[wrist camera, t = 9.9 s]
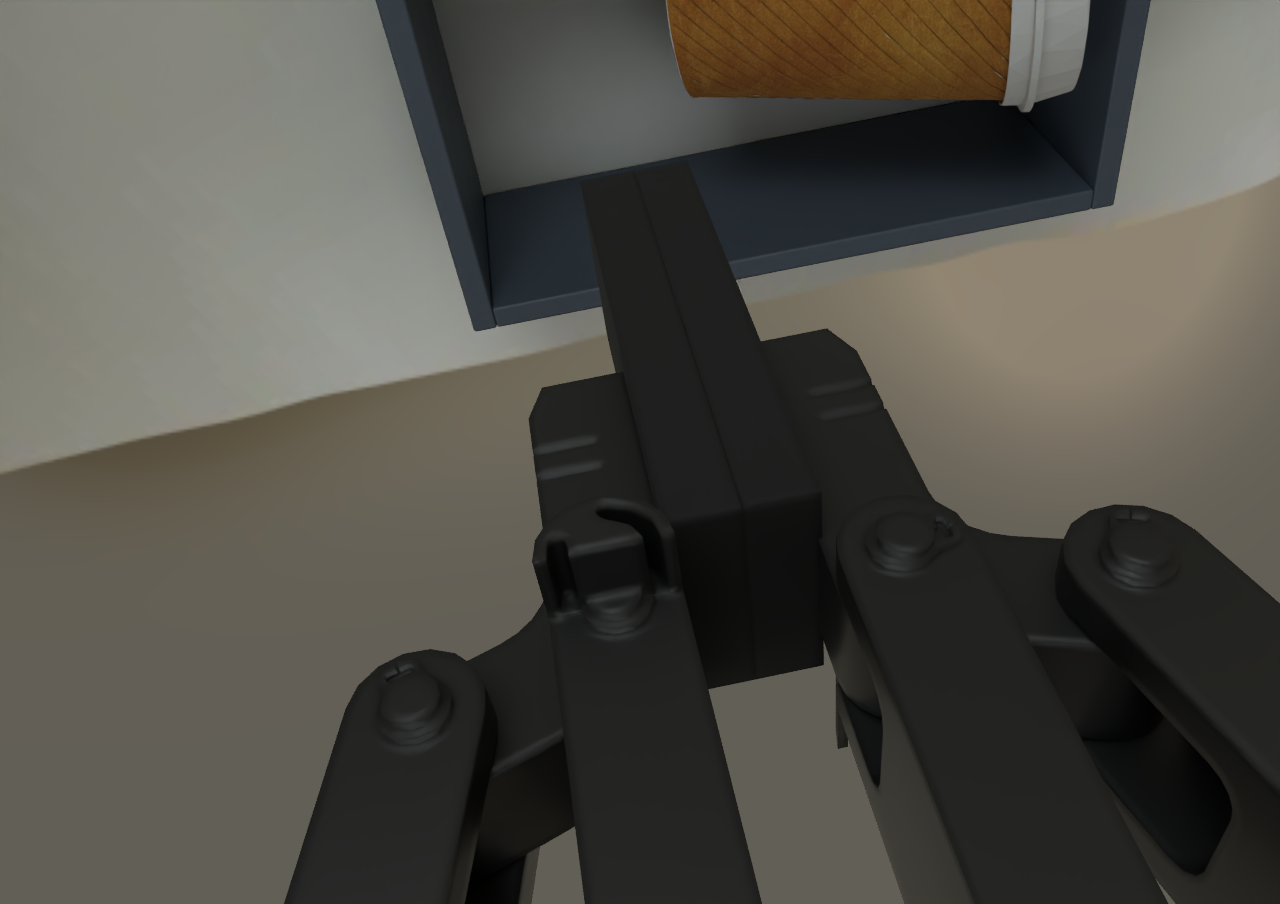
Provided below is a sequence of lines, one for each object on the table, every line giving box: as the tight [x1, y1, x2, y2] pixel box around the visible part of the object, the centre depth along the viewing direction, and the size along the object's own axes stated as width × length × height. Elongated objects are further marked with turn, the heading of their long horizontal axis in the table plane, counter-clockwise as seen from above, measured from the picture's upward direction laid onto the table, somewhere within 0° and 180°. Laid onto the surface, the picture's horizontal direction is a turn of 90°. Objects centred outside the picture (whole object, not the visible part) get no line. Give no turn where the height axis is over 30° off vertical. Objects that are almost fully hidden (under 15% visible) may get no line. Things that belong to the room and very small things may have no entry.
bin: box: [376, 0, 1151, 331], centre depth 35 cm, size 23×16×8 cm
